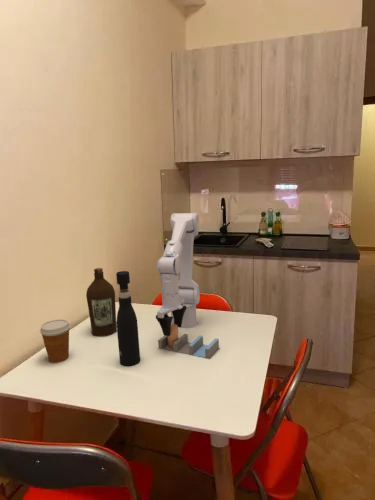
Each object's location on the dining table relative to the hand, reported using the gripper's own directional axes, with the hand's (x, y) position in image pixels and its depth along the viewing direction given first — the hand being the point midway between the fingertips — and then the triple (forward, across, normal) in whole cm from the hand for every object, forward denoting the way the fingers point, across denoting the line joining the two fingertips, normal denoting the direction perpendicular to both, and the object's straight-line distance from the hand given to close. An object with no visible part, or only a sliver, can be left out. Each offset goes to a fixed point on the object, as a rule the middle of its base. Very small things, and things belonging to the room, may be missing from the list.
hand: (172, 330), depth 127 cm
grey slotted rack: (+6, 0, -6) cm, 9 cm away
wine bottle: (+7, -15, +7) cm, 18 cm away
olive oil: (+6, +2, +32) cm, 33 cm away
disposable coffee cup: (+7, -21, +32) cm, 39 cm away
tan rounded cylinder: (+5, 0, 0) cm, 5 cm away
